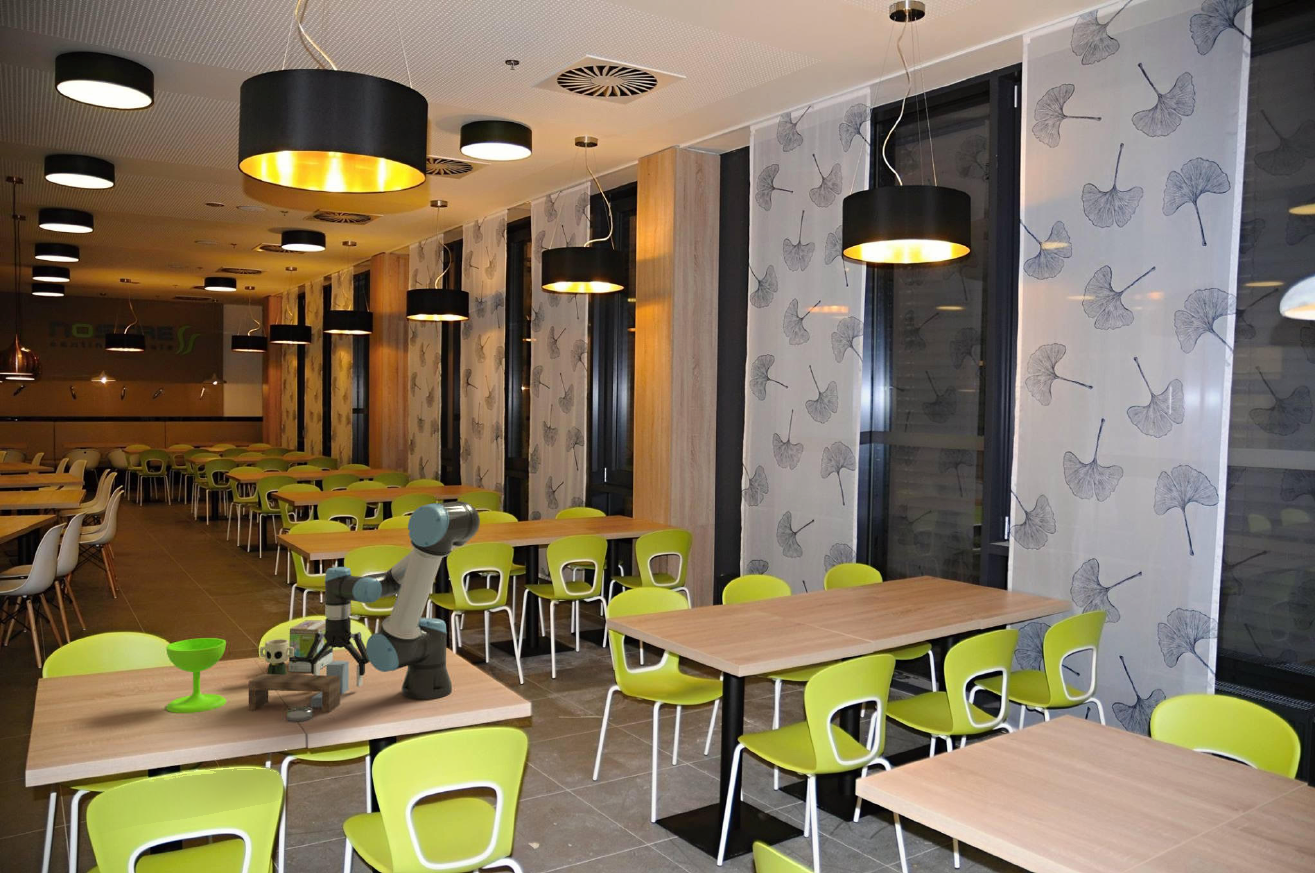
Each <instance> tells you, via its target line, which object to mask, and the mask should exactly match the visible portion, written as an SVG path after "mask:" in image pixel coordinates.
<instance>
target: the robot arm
mask: <svg viewBox="0 0 1315 873" xmlns="http://www.w3.org/2000/svg"><path fill="white" fill-rule="evenodd" d="M480 520H481V519H480V515H479V513H478V510H477V509H476V508H475V507H474V506H473V505H472V504H470V503H468V502H466V501H461V500H459V501H458V500H457V501H456V500H455V501H450V502H441V503H436V502H435V503H428V504H424V505H421V506H419V507H417V508H416V509H415V510H414V511H412V514H411V515H410V517H409V520H408V524H407V530H408V531H409V532H408V536H409V538H410V545H411V546H412V548H413V550H411V551H410V552H409V553H408V554H406V555H405V556H404V557H402V558H401V559H400V560H399V561H397V563H396V564H395V565H393V566H392V567H391V568H389V569H388V570H387V571H385V572H379V573H375V574H370V575H369V574H368V575H363V576H359V575H358V576H355V575H352V570H351V568H349V567H347V566H335V567H329V568H327V570H326V571H325V577H324V586H325V588H324V589H325V591H324V595H325V596H324V599H325V602H324V603H325V606H324V607H325V608H324V609H325V612H324V614H325V619H324V621H325V630H326V632H325V633H322V632H321V631H320V632H318V633H316V634H315V640H314V642H313V644H312V646H311V648H310V650H309V652H308V654H307V657H306V659H305V662H309V663H310V664H311V672H310V673H311V674H310V675H321V669H320V663H317V662H318V660H319V659H320V658H321V657H322V655H323V654H324V653H325V652H326V651H327V649H328V648H329V647H330V646H331V647H332V648H333V649H335V648H339V649H342V648H344V650H346V651H347V652H348V653H349V654H350V655H351V656H352V657H353V659H354V660H355V661H356V663H357V664H356V687H357V688H358V687H359V688H360V686H362V685H363V676H364V675H365V673H366V664H369V663H370V664H371V666H373V667H374V668H375V669H376V670H377V671H379V672H382V673H388V672H392V671H393V672H394V671H396V670H398V669H401V668H405V667H407V670H406V673H405V676H404V680H403V683H402V686H401V696H402V697H404V698H406V699H407V698H408V699H410V700H411V699H412V700H413V699H414V700H431V699H437V698H443V697H445V696H448V695H450V694H451V693H453V692H452V691H453V689H452V687H453V686H452V681H451V679H450V678H451V677H450V675H449V672H448V669H447V634H448V632H447V624H446V622H445V621H444V620H442V619H440V618H434V617H432V618H431V617H422V616H423V614H424V610H425V607H426V604H427V601H428V599H429V596H430V593H431V590H432V588H433V585H434V583H435V579H436V576H437V574H438V571H439V568H440V566H441V562H442V559H443V558H445V557H447V556H449V555H450V553H451V551H452V550H453V549H454V548H456V547H457V548H459V547H463V546H464V545H466V543H467V542H469V541H470V540H471V539H472V538H473V537H475V536H476V534H477V532H478V531H479V528H480V524H481V521H480ZM396 595H397V596H396ZM390 596H391V597H392V596H396V599H395V601H394V604H393V607H392V609H391V611H390V612H391V613H390V616H388V617H386V618H385V619H383V621H382V623H381V625H380V629H379V631H378V632H375V633H374V634H371V635H370V636H369V637H368V639H367V641H366V644H364V642H363V640H362V633H361V632H360V631H359V632H357V633H355V632H354V633H352V632H351V628H352V627H351V624H352V623H351V620H352V618H351V617H350V616H351V615H352V613H351V611H352V610H351V609H352V608H351V605H352V604H351V603H352V602H357V603H362V604H371V603H375V602H376V601H377V600H378V599H381V598H385V597H390ZM323 637H324V638H325V639H326V641H327V642H326V644H325V645H324V646H323V648H322V649H321V650H320V651H319V652H318V653H317V655H316V656H315V657H314V658H313V656H314V654H315V652H316V650H317V648H318V646H319V644H320V641H321V639H323ZM351 639H352V640H353V641H354V642H355V645H356V647H357V648H355V646H354V645H353V642H352V641H351ZM357 649H358V650H357Z"/></svg>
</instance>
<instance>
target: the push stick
mask: <svg viewBox="0 0 1315 873" xmlns="http://www.w3.org/2000/svg"><path fill="white" fill-rule="evenodd" d="M349 663H350V662H349V660H333V661H332V662H330V663H329V664H327V665H325V666H326V668H325V669H326V675H325V676H340V695H344V694H345V693H346V692H348V691H349V689H350V688H349V686H350V685H349V674H350V673H349V668H350V667H349ZM310 707H312V708H322V692H317V693H316V694H315V695H313V696H312V697H310Z"/></svg>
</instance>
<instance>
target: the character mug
mask: <svg viewBox="0 0 1315 873" xmlns="http://www.w3.org/2000/svg"><path fill="white" fill-rule="evenodd" d="M289 641H290V640H288V639H283V638H279V639H278V638H277V639H271V640H267V641H265V643H264V646H260V648H259V656H260V657H261V658H264V659H265V662H267V663H269V664H268V665H267V670H266V671H267V673H266V674H283V675H288V672H287V665H286V662H287V661H289V657H293V656H294V648H293V647H289ZM289 650H291V654H289Z"/></svg>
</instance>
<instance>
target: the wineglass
mask: <svg viewBox="0 0 1315 873" xmlns="http://www.w3.org/2000/svg"><path fill="white" fill-rule="evenodd" d="M226 644H227V641H226V640H225V639H222V638H216V637H205V638H203V637H201V638H191V639H184V640H183V639H182V640H179V641H176V642H172V643H169V644H167V646H166V647H165V649H166V654H167V657H168V659H169V660H170V662H171V663H172V664H173V665H174V666H175V667H176V668H178V669H180V670H182V671H183V672H184V671H185V672H189V673H192V693H191V695H186V696H182V697H178V698H176V699H174V700H172V701H170V702H169V703H168V704H167V706H166V710H167V711H169V712H170V713H176V714H193V713H194V714H195V713H201V712H206V711H210V710H214V709H218V708H220V707H223V706H224V705H225V704H226V703H227V699H226V698H225V697H223V696H222V695H220V694H213V693H205V694H203V693H202V692H201V672H203V671H205V670H208V669H211V668H212V667H213V666H214V665H216V664H218V662H219V661H220V660H221V658H222V657H223V655H224V653H225V650H226Z"/></svg>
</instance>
